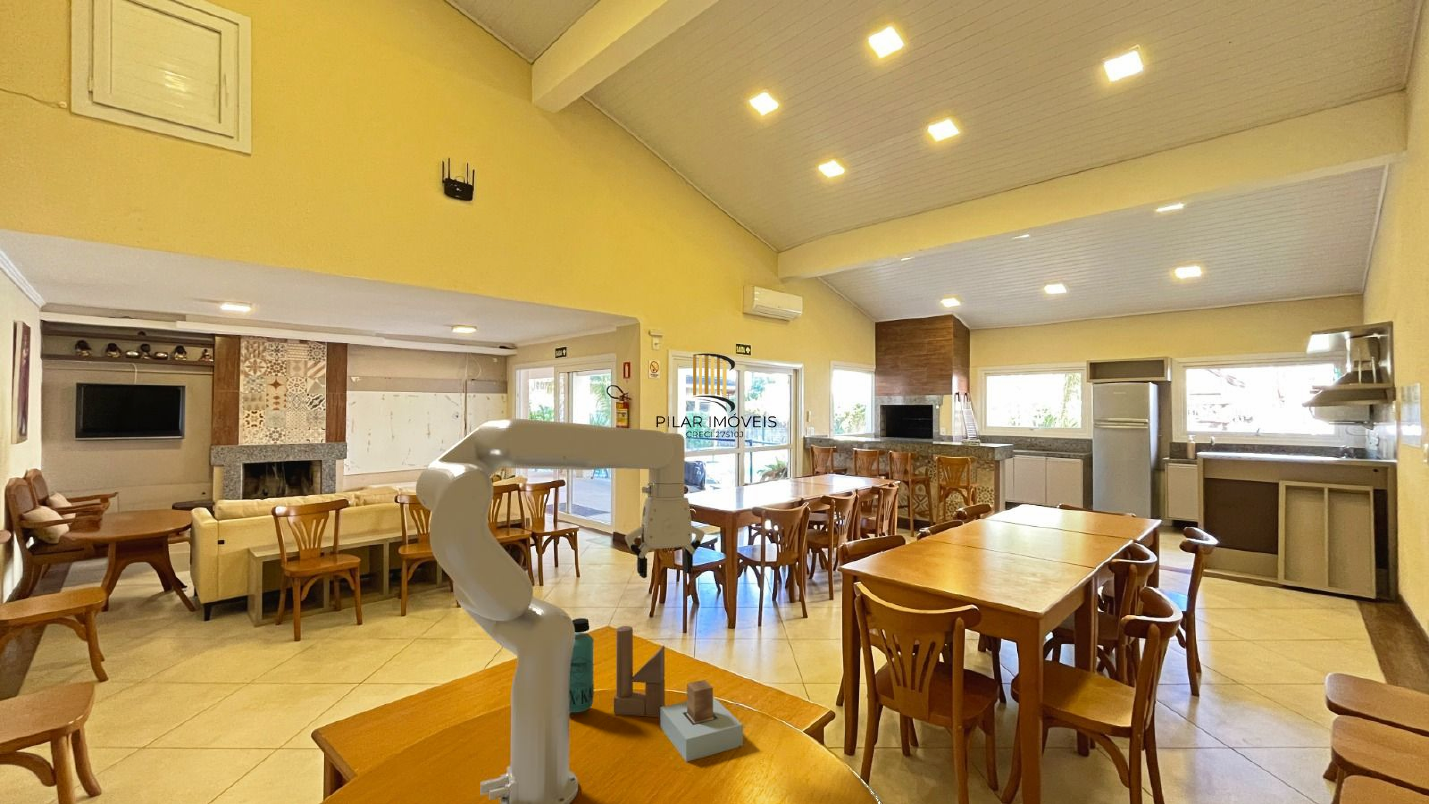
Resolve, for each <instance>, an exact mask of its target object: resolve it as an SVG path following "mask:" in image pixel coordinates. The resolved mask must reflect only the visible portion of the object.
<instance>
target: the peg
mask: <svg viewBox="0 0 1429 804" xmlns="http://www.w3.org/2000/svg"><path fill="white" fill-rule="evenodd" d="M713 697H714V687H713V686H712V685H711V684H710V683H709V682H708V681H707V680H706V679H701V680H697V681H694V682H693V681H692V682H688V683H686V701H687V719H688V720H689V721H690V722H691V724H692V725H696V724H700V723H704V722H708V721H712V720H713V719H714V718H713Z"/></svg>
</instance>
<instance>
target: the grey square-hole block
mask: <svg viewBox="0 0 1429 804" xmlns="http://www.w3.org/2000/svg"><path fill="white" fill-rule="evenodd" d="M713 718H714V719H713V720H712V721H708V722H704V723H700V724H696V725H692V724H691V722H690V721H689V720H688V719H687V700H686V701H682V702H677V703H674V704H669V705H665V706H664V707H660V718H659V719H660V722H659V723H660V728H661V729H662V731H663V733H664V734H665V736H666V737H667V738H668V739H669V741H670V742H671V743H672V745H673V746H674V748H676V750H677V751H678V753H679V754H680V756H682V758H683V760H684V761H685V762H691V761H694V760H697V759H701V758H705V757H708V756H712V755H715V754H718V753H720V754H721V753H722V752H727V751H729V750H730V751H731V750H734V749H736V748H740V747H739V746H741V747H743V746H744V740H743V739H744V733H743V732H744V729H743V728H744V727H743V726H744V724H743V723H741V721H739V719H737V718H736V716H735V715H733V714H732V713H731V712H730V711H729V710H728V709H727V708H726V707H725V706H724V705H723V704H722V703H721V702H720V701H719V700H718V699H717V698H715V697H714V696H713Z"/></svg>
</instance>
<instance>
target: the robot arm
mask: <svg viewBox="0 0 1429 804" xmlns="http://www.w3.org/2000/svg"><path fill="white" fill-rule="evenodd" d="M500 468H509V469H522V470H523V469H526V470H527V469H528V470H529V469H530V470H534V469H535V470H536V469H537V470H540V469H541V470H570V471H571V470H573V471H574V470H579V471H588V470H589V471H591V470H592V471H593V470H603V469H604V470H606V469H608V470H609V469H622V470H623V469H624V470H625V469H627V470H628V469H630V470H631V469H632V470H648V483H647V485H645V486H642V488H641V492H642V494H645V495H647V496H648V498H645V500H644V504H643V508H642V516H641V524H640V526H639V527H638V528H636V529H634V530H633V531H631V532H629V533H628V534H626V535H625V536H624V539H625V542H626V544H627V546H628V548H629V550H630V551H631V552H633V553H634V554H635V556H636V558H637V563H636V566H637V568H636V569H637V570H636V571H637V574H639V577H641V578H642V579H646V578H647V577H648V558H647V557H646V555H647V554H648V553H649V551H650V550H651V549H652V550H653V549H655V550H657V549H671V548H672V549H673V548H683V550H684V551H683V553H682V572H683V573H686V574H687V575H691V574H692V569H693V567H694V564H693V563H694V554H696V551H697V550H698V548H699V547H700V546H701V545H702V541H703V539H704V537H705V535H706V533H705V531H703V530H702V529H699V528H697V527H696V526H693V525H692V515H691V514H692V513H691V508H690V502H689V498H688V497H685V437H684V435H682V434H680V433H676V432H674V433H673V432H663V431H661V430H653V429H642V428H641V429H640V428H627V427H616V426H615V427H613V426H604V425H597V424H589V423H588V424H587V423H577V422H576V423H575V422H563V421H562V422H561V421H553V420H552V421H551V420H538V419H528V418H527V419H526V418H505V419H494V420H493V419H492V420H489V421H487V422H484V423H483V424H480V425H479V426H478V427H477V428H475V429H474V430H473V431H471V432H470V433H468V434H467V435H466V436H465V437H464V438H462V439H461V440H460V441H458V442H457V443H456V444H455V445H453V446H452V447H451V448H450V449H448V450H447V451H445V452H444V453H443V454H441V455H440V456H439V457H437V458H436V459H435V460H434V461H433V462H431V463H430V464H428V465H427V467H425V468H424V470H423V471H422V472H421V473H420V475H419V477H418V478H417V481H416V486H415V495H416V498H417V500H418V502H419V503H420V504H421V505H422V507H424V508H425V509H426V510H429V511H430V512H432V514H431V517H430V518H431V519H430V524H429V544H430V545H429V546H430V549H431V552H432V555H433V557H434V559H435V560H436V562H437V563H438V564H439V566H440V567H441V568H442V570H443V571H444V572H445V574H447V576H449V578H450V579H451V580H452V581H453V583H452V586H453V587H452V589H453V590H452V591H453V594H454V598H455V599H456V601H457V603H458V605H460V607H461V608H462V609H463V610H464V611H465V612H466V614H468V615H469V616H470V617H471V618H472V619H473V621H475V622H476V624H478V626H479V627H480V628H481V629H483V630H484V632H486V634H487V635H488V636H489V637H490V638H492V639H493V640H494V641H495V642H496V643H497V644H498V645H500V646H501V647H502V648H504V649H506V650H508V651H509V652H511V653H513V654H514V655H515V656H516V657H517V658H516V659H517V662H516V668H515V672H514V675H513V679H512V681H511V682H512V684H511V694H510V707H511V708H510V710H511V711H510V716H511V717H510V765H508V766H506V773H503V774H500V777H497V778H491V779H490V778H489V779H488V780H487V779H486V780H482V781H480V791H479V792H480V796H484V795H488V799H489V801H493V800H496V799H498V798H499V804H500V803H501V804H570V803H572V801H574V799H575V798H576V796H577V794H578V792H579V791H578V790H579V781H578V777H577V776H576V775H575V773H574V772H573V771H571V770H570V712H569V677H570V664H571V657H572V652H573V647H574V641H575V629H574V625H573V622H572V620H573V619H572V618H571V616H570V615H569V614H568V613H567V612H566V611H565V610H563V609H562V608H561V607H559V606H557V605H556V604H552V603H550V602H548V601H546V600H543V599H539V598H537V597H534V589H533V583H532V580H531V579H530V576H529V575H528V574H527V572H526V571H525V570H524V569H523V568H522V567H521V566H520V565H519V564H518V562H516V561H515V559H514V558H513V557H512V556H511V555H510V554H509V552H507V551H506V549H505V548H504V547H503V546H502V545H501V543H500V542H499V541H498V539H496V537H495V536H494V535H493V532H492V531H491V530H490V527H489V520H488V518H489V513H490V512H489V511H490V509H491V508H490V507H491V505H492V501H493V498H494V484H493V480H492V476H493V475H494V474H495V473H496V472H497V471H498V470H499V469H500ZM693 534H694V535H695V537H694V539H693ZM638 537H640V543H641V544H640V545H639V546H637V545H636V542H635V539H636V538H637V539H638Z"/></svg>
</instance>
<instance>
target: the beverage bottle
mask: <svg viewBox="0 0 1429 804" xmlns="http://www.w3.org/2000/svg"><path fill="white" fill-rule="evenodd" d="M571 620H572V622H573V625H574V629H575V641H574V647H573V652H572V657H571V664H570V677H569V713H580V712H585V711H587V710H589V709H590V708H591V707H592V706H593V703H594V697H595V696H594V694H595V692H594V691H595V690H594V685H595V681H594V673H595V671H594V666H595V664H594V641H595V639H594V637H592V635H590V634H589V633H587V632H588V631H589V630H590V622H589V619H588V618H585V617H584V618H583V617H581V618H575V619H571Z"/></svg>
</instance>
